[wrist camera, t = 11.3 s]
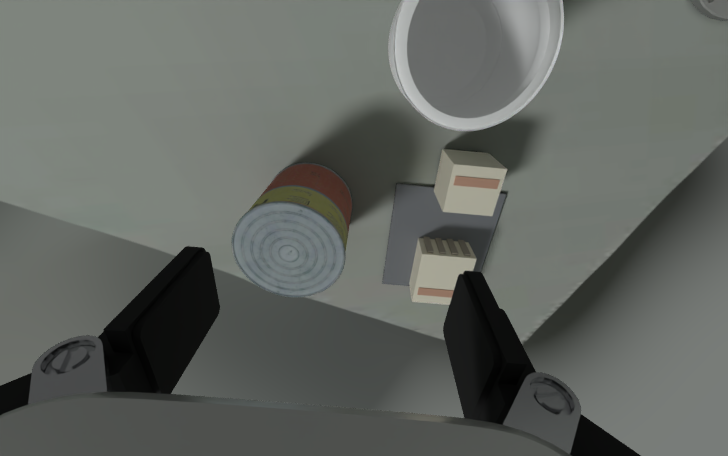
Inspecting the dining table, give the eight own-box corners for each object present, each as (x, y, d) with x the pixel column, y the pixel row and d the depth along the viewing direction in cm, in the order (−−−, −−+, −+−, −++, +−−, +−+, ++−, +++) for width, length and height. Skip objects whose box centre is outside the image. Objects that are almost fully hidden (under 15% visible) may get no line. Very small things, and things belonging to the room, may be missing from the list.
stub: (488, 153, 37) (507, 169, 31) (476, 195, 39) (492, 216, 34) (442, 148, 37) (454, 164, 31) (433, 191, 39) (442, 212, 34)
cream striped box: (468, 240, 43) (477, 257, 39) (455, 287, 47) (461, 306, 43) (418, 236, 43) (422, 252, 39) (409, 283, 47) (412, 302, 43)
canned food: (266, 157, 38) (225, 195, 28) (356, 167, 39) (349, 209, 28) (269, 235, 44) (236, 291, 33) (348, 244, 44) (341, 302, 34)
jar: (503, 62, 33) (590, 66, 20) (419, 122, 36) (445, 161, 23) (454, -43, 29) (522, -125, 16) (365, 36, 32) (358, 22, 19)
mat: (505, 193, 40) (506, 194, 39) (473, 289, 47) (474, 291, 47) (396, 183, 40) (396, 184, 39) (382, 281, 47) (382, 283, 47)
